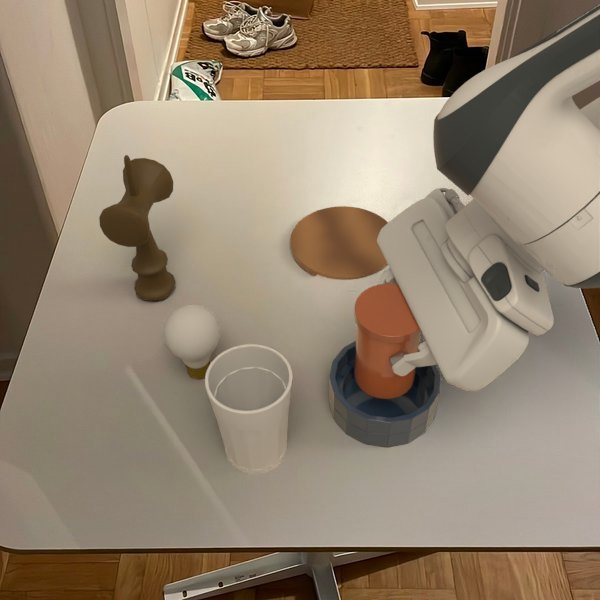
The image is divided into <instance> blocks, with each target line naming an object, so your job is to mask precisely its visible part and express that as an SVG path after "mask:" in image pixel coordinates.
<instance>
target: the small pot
mask: <svg viewBox="0 0 600 600" xmlns="http://www.w3.org/2000/svg"><path fill="white" fill-rule="evenodd" d="M353 311H354V312H353V316H354V322H355V324H356V329H355V330H356V331H355V341H356V349H355V368H354V377H355V380H356V383H357V384H358V386H359V387H360V388H361V389H362V390H363V391H364V392H365V393H367V394H369V395H371V396H373V397H376V398H381V399H391V398H396V397H399V396H401V395H403V394H405V393H406V392H407V391H408V390H409V389H410V388H411V387H412V385H413V382H414V378H415V371H416V368H414V369H413V370H412V371H411V372H409V373H408V374H407V375H405V376H399V375H397V374H395V373H394V372H393V369H392V367H391V365H390V363H389V358H390V357H391V356H394V355H395V353H396V352H398V351H399V350H400V349H401V350H403V351H405V352H406V353H409V354H411V353H416V352H418V351H419V349H418V346H419V345H420V344H421V337H422V332H421V330H420V328H419V326H418V324H417V322H416V320H415V318H414V316H413V314H412V312H411V310H410V308H409V306H408V304H407V302H406V300H405V298H404V296H403V294H402V292H401V290H400V288H399V286H398V284H379V285H378V284H375V285H372V286H370V287H368V288H367V289H365V290H363V291H362V292H361V293H360V294H359V295H358V297H357V298H356V300H355V302H354V307H353Z"/></svg>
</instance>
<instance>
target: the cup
mask: <svg viewBox="0 0 600 600" xmlns="http://www.w3.org/2000/svg"><path fill="white" fill-rule="evenodd" d="M293 377H294V375H293V370H292V367H291V364H290V362H289V361H288V360H287V358H286V357H285V356H284V355H283V354H282V353H281V352H279V351H278V350H276V349H274V348H272V347H270V346H267V345H263V344H257V343H246V344H240V345H235V346H233V347H230V348H228V349H226V350H224V351H222V352H221V353H219V354H218V355H217V356H216V357H215V358H214V359H213V360H212V361H210V365H209V367H208V369H207V372H206V375H205V377H204V387H205V391H206V394H207V397H208V399H209V402H210V403H209V404H210V405H211V408H212V411H213V413H214V416H215V419H216V422H217V425H218V429H219V432H220V435H221V439H222V442H223V447H224V451H225V456H226V459H227V460H228V462H229V464H230V465H231V466H233V468H235V469H236V470H238V471H240V472H242V473H245V474H249V475H260V474H264V473H268V472H270V471H272V470H274V469H275V468H277V467H278V466H279V465H280V464H281V463H282V462H283V460H284V459H285V457H286V455H287V451H288V430H289V416H290V415H289V414H290V404H291V399H292V388H293Z"/></svg>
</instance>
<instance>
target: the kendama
mask: <svg viewBox="0 0 600 600" xmlns="http://www.w3.org/2000/svg"><path fill="white" fill-rule="evenodd" d="M123 163H124V167H123V169H122V181H123V185H124V189H125V192H124V194H123V196H122V198H121V199H120V201H118V202H117V203H115V204H112V205H110V206H107V207H105V208H103V209H102V210H101V212H100V214H99V218H98V219H99V227H100V229H101V231H102V233H103V235H104V236H105V237H106V238H107V239H108V240H109V241H110V242H112V243H115V244H116V245H118V246H122V247H127V248H135V254H134V256H133V258H132V261H131V265H130V266H131V270H132V272H134V273H135V274H136V275H137V278H136V280H135V281H134V287H133V289H134V290H133V291H134V294H135V296H137V297H138V298H140V299H141V300H144V301H150V302H151V301H160V300H164V299H166V298H167V297H169V296H170V295H171V294H172V293H173V291H174V290H175V287H176V279H175V276H174V274H172V272H170V271H168V269H167V265H168V262H169V258H168V254H167V253H166V252H165V251H164V250H163V249H160V248H159V246H158V244H157V242H156V240H155V237H154V235H153V233H152V230H151V227H150V221H149V214H150V211H151V208H152V206H153V205H154V204H155V203H159V202H162V201H165V200H167V199H169V198H170V197H171V195H172V193H173V192H174V179H173V177H172V174H171V172H170V171H169V170H168V168H167V167H166V165H164V164H163V163H161V162H158V161H157V160H155V159H151V158H147V157H138V158H133V159H131V158H130V156H129V155H128V154H125V155H124V156H123Z"/></svg>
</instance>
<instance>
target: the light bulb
mask: <svg viewBox="0 0 600 600" xmlns="http://www.w3.org/2000/svg"><path fill="white" fill-rule="evenodd" d="M163 337H164V342H165V344H166V346H167V348H168V350H169V351H170V352H171V353H172V354H173V355H174V356H176V357H177V358H179V359H181V361H182V362H183V364H184V365H185V368H186V372H187V374H188V376H189V377H191V378H192V379H196V380H199V379H205V375H206V372H207V369H208V367H209V365H210V364H211V358H212V353H214V351H215V350H216V349H217V347H218V345H219V342H220V339H221V326H220V322H219V319H218V318H217V316H216V315H215V314H214V313H213V312H212V311H211V310H210V309H208V308H207V307H205V306H202V305H199V304H192V303H191V304H185V305H182V306H179V307H178V308H176V309H175V310H174V311H172V312H171V313H170V314H169V316H168V317H167V319H166V321H165V323H164V328H163Z"/></svg>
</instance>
